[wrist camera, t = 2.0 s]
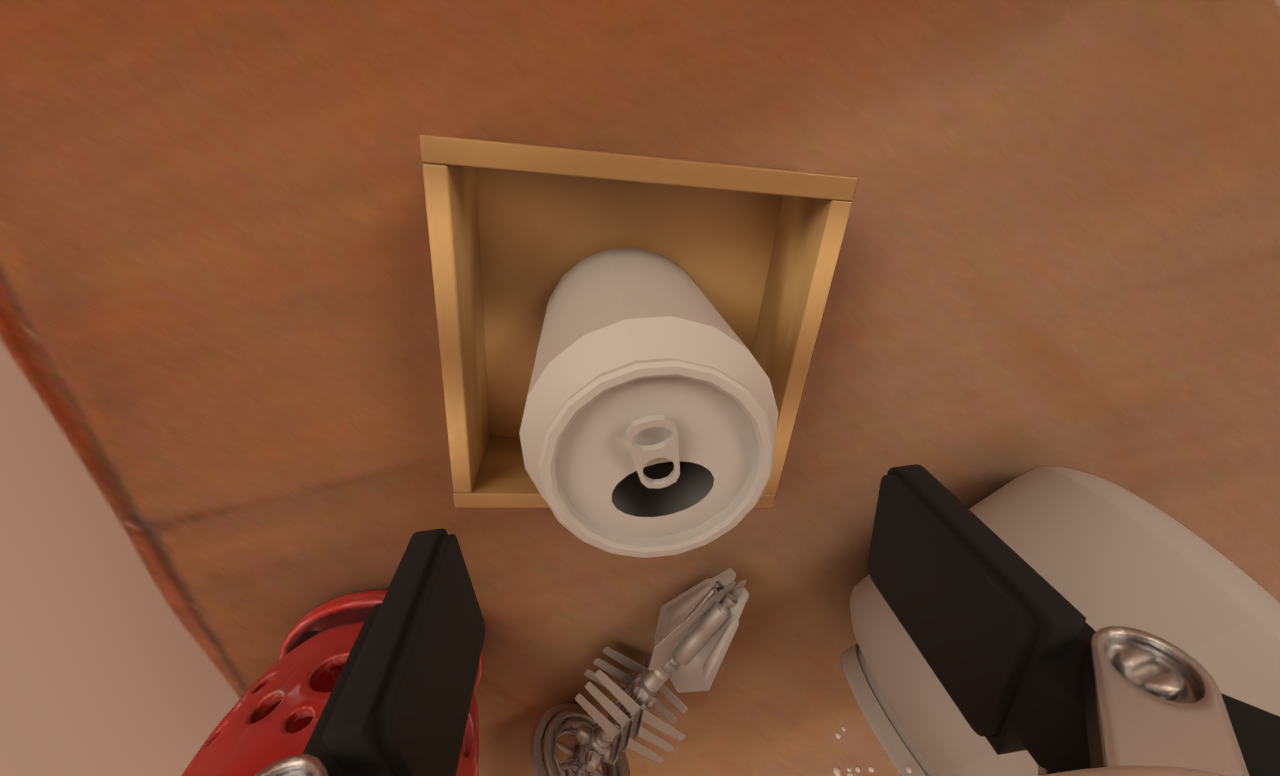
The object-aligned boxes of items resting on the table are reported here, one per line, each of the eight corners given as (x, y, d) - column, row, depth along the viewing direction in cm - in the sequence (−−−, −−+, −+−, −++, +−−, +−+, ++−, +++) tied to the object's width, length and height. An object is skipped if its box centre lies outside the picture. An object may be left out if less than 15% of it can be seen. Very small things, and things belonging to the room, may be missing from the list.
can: (567, 407, 25) (556, 604, 14) (524, 262, 22) (467, 378, 11) (710, 376, 25) (805, 549, 14) (690, 227, 22) (796, 308, 11)
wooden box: (455, 137, 20) (418, 134, 15) (802, 171, 21) (859, 177, 17) (476, 445, 26) (454, 508, 21) (742, 450, 28) (772, 508, 23)
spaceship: (374, 944, 33) (467, 1019, 33) (682, 574, 26) (805, 667, 25) (438, 824, 41) (514, 883, 40) (690, 514, 33) (784, 584, 33)
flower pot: (506, 694, 35) (473, 934, 24) (309, 705, 33) (181, 968, 23) (497, 559, 29) (448, 794, 19) (259, 564, 28) (57, 825, 17)
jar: (1172, 650, 33) (864, 855, 34) (992, 470, 39) (735, 649, 40) (1604, 760, 16) (950, 1174, 16) (1160, 405, 22) (698, 724, 22)
